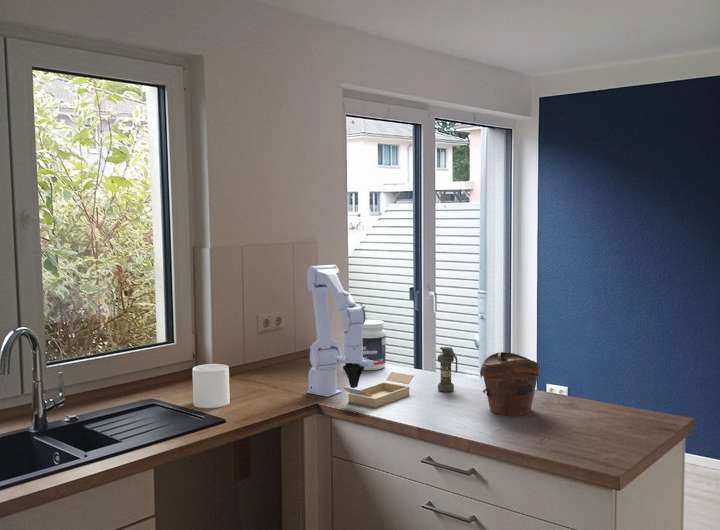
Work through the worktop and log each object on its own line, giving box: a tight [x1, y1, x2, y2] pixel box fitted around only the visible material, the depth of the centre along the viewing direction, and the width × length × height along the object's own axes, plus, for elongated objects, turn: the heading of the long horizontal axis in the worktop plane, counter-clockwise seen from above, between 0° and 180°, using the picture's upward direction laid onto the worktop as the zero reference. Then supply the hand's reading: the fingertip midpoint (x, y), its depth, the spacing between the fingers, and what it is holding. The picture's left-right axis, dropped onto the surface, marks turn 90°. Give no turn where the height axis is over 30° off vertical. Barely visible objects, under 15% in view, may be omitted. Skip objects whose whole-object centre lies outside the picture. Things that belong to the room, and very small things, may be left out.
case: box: [479, 351, 542, 417], centre depth 225 cm, size 18×20×18 cm
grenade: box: [437, 346, 458, 393], centre depth 249 cm, size 6×6×15 cm
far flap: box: [385, 371, 415, 385], centre depth 249 cm, size 9×4×1 cm
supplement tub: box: [362, 319, 387, 371], centre depth 287 cm, size 13×13×18 cm
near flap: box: [342, 386, 372, 397], centre depth 231 cm, size 9×4×1 cm
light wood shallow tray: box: [348, 381, 410, 409], centre depth 240 cm, size 11×19×3 cm, turn 142°
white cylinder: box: [191, 363, 231, 409], centre depth 237 cm, size 12×12×12 cm
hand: (354, 387), depth 229 cm, fingers closed
